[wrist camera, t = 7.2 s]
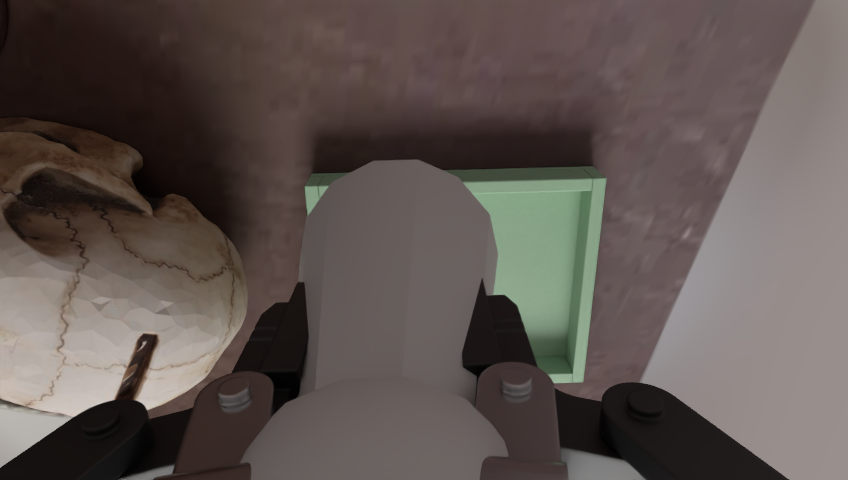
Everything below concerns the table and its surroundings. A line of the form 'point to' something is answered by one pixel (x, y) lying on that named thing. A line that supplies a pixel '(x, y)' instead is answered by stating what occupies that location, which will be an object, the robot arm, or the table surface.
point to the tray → (538, 252)
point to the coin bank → (104, 276)
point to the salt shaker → (387, 334)
